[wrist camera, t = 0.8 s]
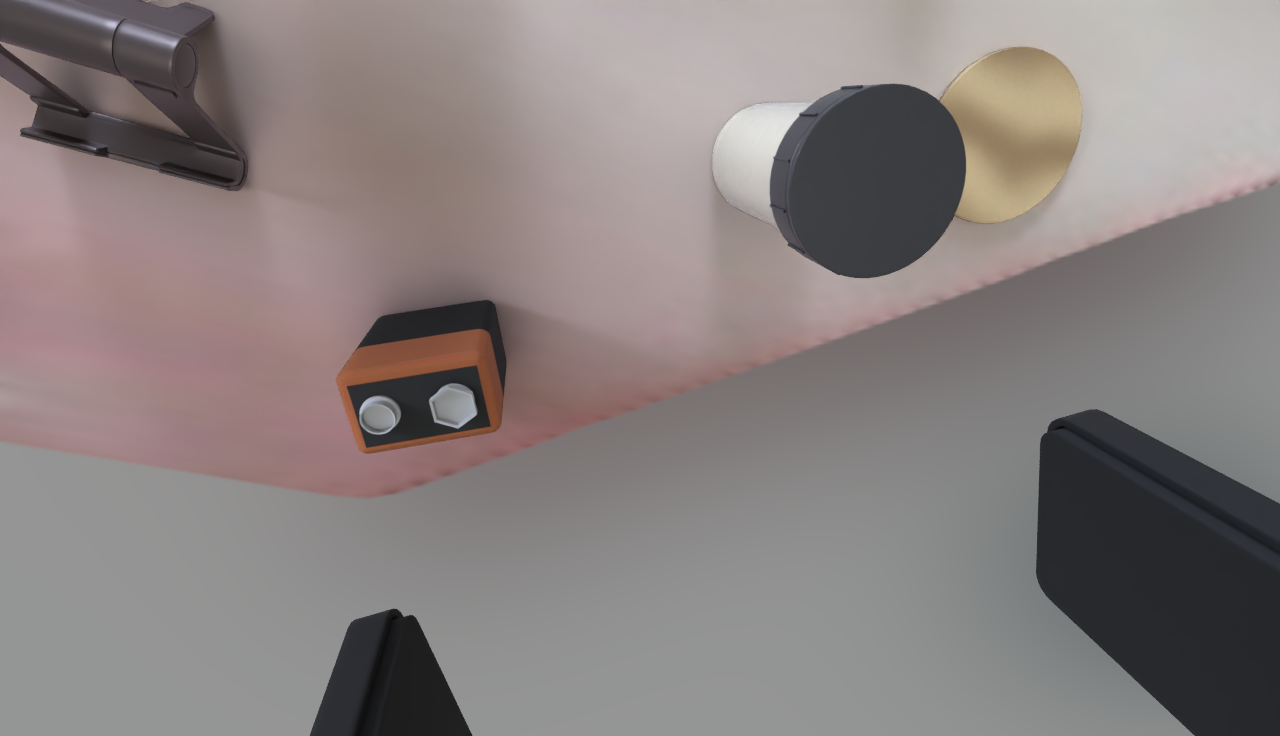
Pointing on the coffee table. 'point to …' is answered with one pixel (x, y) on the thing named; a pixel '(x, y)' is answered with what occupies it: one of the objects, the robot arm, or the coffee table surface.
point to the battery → (426, 377)
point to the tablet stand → (142, 53)
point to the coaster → (1013, 130)
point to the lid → (868, 178)
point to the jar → (752, 155)
